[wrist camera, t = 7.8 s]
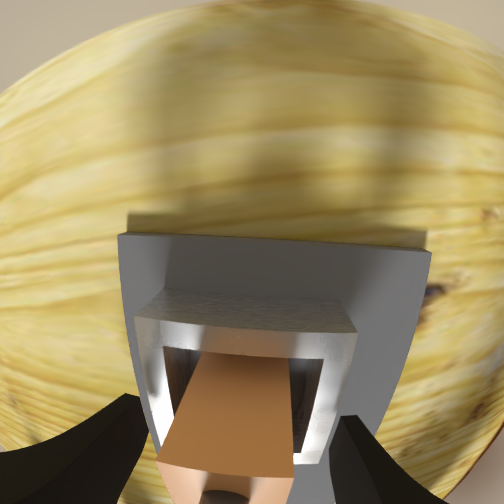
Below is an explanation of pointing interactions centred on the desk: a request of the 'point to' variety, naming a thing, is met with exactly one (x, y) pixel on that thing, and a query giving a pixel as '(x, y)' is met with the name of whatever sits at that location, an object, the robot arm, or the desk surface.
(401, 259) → the mat
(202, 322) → the end holder
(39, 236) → the desk surface
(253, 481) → the connector plug
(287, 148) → the desk surface
